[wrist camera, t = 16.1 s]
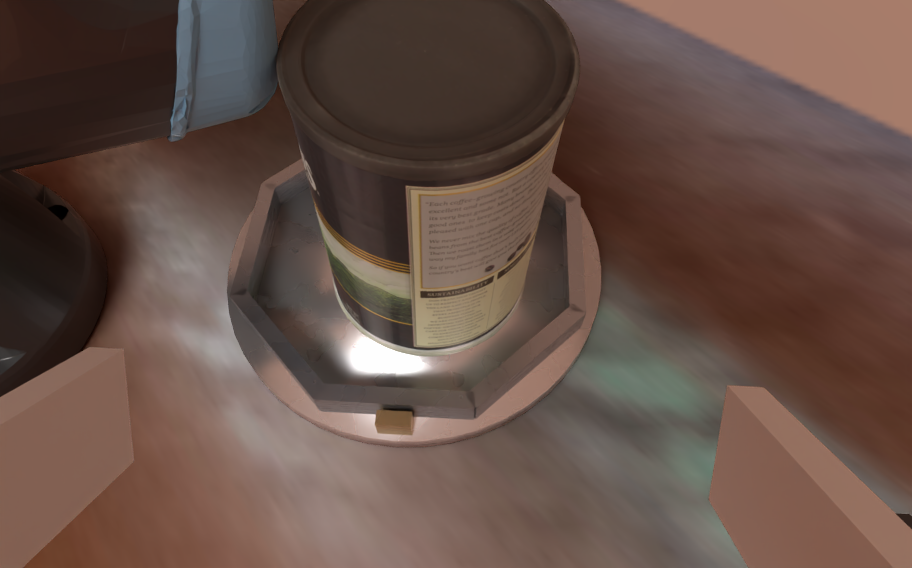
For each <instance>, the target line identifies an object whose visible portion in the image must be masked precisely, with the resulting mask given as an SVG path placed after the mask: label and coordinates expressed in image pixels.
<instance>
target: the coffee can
mask: <svg viewBox="0 0 912 568" xmlns="http://www.w3.org/2000/svg"><path fill="white" fill-rule="evenodd" d="M276 68H277V76H278V82H279V85H280V89H281V92H282V95H283V98H284V101H285V103H286V106H287V108H288V110H289V112H290V114H291V118H292V121H293V125H294V129H295V133H296V137H297V140H298V144H299V148H300V151H301V156H302V160H303V164H304V168H305V171H306V175H307V179H308V183H309V186H310V190H311V194H312V197H313V201H314V205H315V209H316V213H317V217H318V220H319V224H320V228H321V232H322V235H323V239H324V243H325V247H326V251H327V255H328V259H329V263H330V267H331V271H332V275H333V284H334V289H335V293H336V296H337V299H338V302H339V304H340V306H341V308H342V310H343V312H344V313H345V315H346V316H347V318H348V320H349V321H350V322H351V323H352V324H353V325H354V326H355V327H356V328H357V329H358V330H359V331H360V332H361V333H363V334H364V335H365V336H366V337H368V338H369V339H371V340H373V341H374V342H376V343H378V344H380V345H382V346H384V347H386V348H388V349H391V350H394V351H397V352H401V353H405V354H410V355H415V356H442V355H448V354H453V353H458V352H461V351H464V350H467V349H470V348H472V347H474V346H476V345H478V344H480V343H482V342H484V341H486V340H488V339H489V338H491V337H492V336H494V335H495V334H496V333H497V332H498V331H499V330H500V329H501V328H502V327H503V326H504V325H505V324H506V323H507V322H508V321H509V319H510V318H511V317H512V315H513V314H514V312H515V310H516V309H517V307H518V305H519V302H520V300H521V297H522V294H523V291H524V286H525V280H526V272H527V268H528V264H529V260H530V256H531V252H532V248H533V244H534V240H535V236H536V232H537V228H538V224H539V220H540V216H541V212H542V208H543V204H544V199H545V195H546V192H547V188H548V184H549V180H550V176H551V172H552V168H553V164H554V160H555V156H556V152H557V148H558V144H559V140H560V136H561V132H562V128H563V124H564V120H565V117H566V116H567V114H568V112H569V109H570V107H571V104H572V102H573V99H574V96H575V92H576V89H577V86H578V81H579V74H580V60H579V53H578V49H577V46H576V43H575V40H574V37H573V35H572V33H571V32H570V30H569V28H568V26H567V25H566V23H565V22H564V20H563V19H562V18H561V16H560V15H559V14H558V13H557V12H556V11H555V10H554V9H553V8H552V7H551V6H550V5H549V4H548V3H547V2H546V1H544V0H308V1H307V2H306V3H305V4H304V5H303V6H302V7H301V8H300V9H299V10H298V11H297V12H296V14H295V15H294V16H293V17H292V19H291V20H290V22H289V24H288V25H287V27H286V29H285V31H284V33H283V36H282V38H281V41H280V43H279V48H278V53H277V57H276Z"/></svg>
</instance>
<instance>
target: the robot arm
mask: <svg viewBox="0 0 912 568" xmlns="http://www.w3.org/2000/svg"><path fill="white" fill-rule="evenodd" d="M277 53H278V42H277V33H276V24H275V16H274V8H273V1H272V0H0V568H23V567H24V566H25V565H26V564H27V563H28V562H29V561H30V560H31V559H32V558H33V557H34V556H35V555H36V554H37V553H38V552H39V551H40V550H41V549H42V548H44V547H45V546H46V545H47V544H48V543H49V542H50V541H51V540H52V539H53V538H54V537H55V536H56V535H57V534H58V533H59V532H60V531H61V530H62V529H63V528H65V527H66V526H67V525H68V524H69V523H70V522H71V521H72V520H73V519H74V518H75V517H76V516H77V515H78V514H79V513H80V512H81V511H82V510H83V509H84V508H85V507H87V506H88V505H89V504H90V503H91V502H92V501H93V500H94V499H95V498H96V497H97V496H98V495H99V494H100V493H101V492H102V491H103V490H104V489H105V488H106V487H108V486H109V485H110V484H111V483H112V482H113V481H114V480H115V479H116V478H117V477H118V476H119V475H120V474H121V473H122V472H123V471H124V470H125V469H126V468H127V467H129V466H130V465H131V464H132V463H133V462H134V457H133V446H132V435H131V424H130V413H129V403H128V392H127V381H126V370H125V359H124V349H115V348H98V347H89V348H87V349H85V350H83V351H82V352H80V353H78V352H79V351H80V350H81V348H82V347H83V345H84V344H85V342H86V341H87V339H88V337H89V336H90V334H91V332H92V330H93V328H94V326H95V324H96V322H97V320H98V318H99V315H100V312H101V309H102V306H103V303H104V299H105V294H106V289H107V263H106V258H105V254H104V251H103V248H102V246H101V243H100V241H99V240H98V238H97V236H96V235H95V233H94V232H93V231H92V229H91V228H90V227H89V226H88V225H87V223H86V222H85V221H84V220H83V219H82V217H81V216H80V215H79V214H78V213H77V212H76V210H75V209H74V208H73V207H72V206H71V205H70V204H69V203H68V202H67V201H66V200H64V199H63V198H62V197H61V196H59V195H58V194H57V193H55V192H54V191H52V190H50V189H49V188H47V187H45V186H43V185H42V184H40V183H38V182H36V181H34V180H32V179H30V178H29V177H27V176H25V175H23V174H21V173H19V172H17V171H16V170H15V169H19V168H24V167H28V166H33V165H38V164H42V163H47V162H51V161H56V160H60V159H65V158H69V157H74V156H79V155H83V154H88V153H92V152H97V151H101V150H106V149H110V148H115V147H119V146H124V145H129V144H133V143H138V142H142V141H147V140H151V139H156V138H160V137H165V136H167V138H168V140H169V141H171V142H174V141H178V140H181V139H183V137H184V136H185V135H186V133H187V132H191V131H195V130H198V129H202V128H206V127H210V126H214V125H218V124H221V123H225V122H229V121H233V120H237V119H240V118H244V117H247V116H250V115H252V114H254V113H256V112H258V111H259V110H261V109H262V108H263V107H264V106H265V105H266V104H267V103H268V102H269V100H270V99H271V97H272V96H273V95H274V93H275V90H276V87H277V84H278V76H277V68H276V57H277ZM709 501H710V503H711V505H712V506H713V508H714V510H715V511H716V513H717V515H718V517H719V518H720V520H721V522H722V523H723V525H724V527H725V528H726V530H727V532H728V534H729V535H730V537H731V539H732V540H733V542H734V544H735V546H736V547H737V549H738V551H739V552H740V554H741V556H742V558H743V559H744V561H745V563H746V564H747V566H748V568H912V516H911V515H909V514H896V513H894V512H893V511H892V510H891V509H890V508H889V507H888V506H887V505H886V504H885V503H884V502H883V501H882V500H881V499H880V498H879V497H877V496H876V495H875V494H874V493H873V492H872V491H871V490H870V489H869V488H868V487H867V486H866V485H865V484H864V483H863V482H862V481H861V480H860V479H859V478H858V477H857V476H856V475H855V474H854V473H852V472H851V471H850V470H849V469H848V468H847V467H846V466H845V465H844V464H843V463H842V462H841V461H840V460H839V459H838V458H837V457H836V456H835V455H834V454H833V453H832V452H831V451H830V450H828V449H827V448H826V447H825V446H824V445H823V444H822V443H821V442H820V441H819V440H818V439H817V438H816V437H815V436H814V435H813V434H812V433H811V432H810V431H809V430H808V429H807V428H806V427H805V426H803V425H802V424H801V423H800V422H799V421H798V420H797V419H796V418H795V417H794V416H793V415H792V414H791V413H790V412H789V411H788V410H787V409H786V408H785V407H784V406H783V405H782V404H781V403H780V402H778V401H777V400H776V399H775V398H774V397H773V396H772V395H771V394H770V393H769V392H768V391H767V390H766V389H765V388H764V387H749V386H732V385H727V390H726V396H725V402H724V408H723V414H722V420H721V427H720V433H719V439H718V445H717V451H716V458H715V464H714V470H713V476H712V482H711V488H710V495H709Z"/></svg>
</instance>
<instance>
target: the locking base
mask: <svg viewBox="0 0 912 568" xmlns="http://www.w3.org/2000/svg"><path fill="white" fill-rule="evenodd" d="M600 292H601V263H600V257H599V250H598V246H597V242H596V239H595V236H594V233H593V229H592V227H591V225H590V223H589V221H588V219H587V217H586V214H585V212H584V210H583V209H582V207H581V201H580V195H578V194H577V193H576V192H575V191H573V190H572V189H571V188H570V187H568V186H567V185H566V184H564V183H563V182H562V181H561V180H560V179H559V178H558V177H557V176H555V175H554V174H553V173H552V172H551V176H550V180H549V184H548V188H547V192H546V195H545V199H544V204H543V208H542V212H541V216H540V220H539V224H538V228H537V232H536V236H535V240H534V244H533V248H532V252H531V256H530V260H529V264H528V268H527V272H526V280H525V286H524V291H523V294H522V297H521V300H520V302H519V305H518V307H517V309H516V310H515V312H514V314H513V315H512V317H511V318H510V319H509V321H508V322H507V323H506V324H505V325H504V326H503V327H502V328H501V329H500V330H499V331H498V332H497V333H496V334H495V335H494V336H492V337H491V338H489V339H488V340H486V341H484V342H482V343H480V344H478V345H476V346H474V347H472V348H470V349H467V350H464V351H461V352H458V353H453V354H448V355H442V356H415V355H410V354H405V353H401V352H397V351H394V350H391V349H388V348H386V347H384V346H382V345H380V344H378V343H376V342H374V341H373V340H371V339H369V338H368V337H366V336H365V335H364V334H363V333H361V332H360V331H359V330H358V329H357V328H356V327H355V326H354V325H353V324H352V323H351V322H350V321H349V320H348V318H347V316H346V315H345V313H344V312H343V310H342V308H341V306H340V304H339V302H338V299H337V296H336V293H335V289H334V284H333V275H332V271H331V267H330V263H329V259H328V255H327V251H326V247H325V243H324V239H323V235H322V232H321V228H320V224H319V220H318V217H317V213H316V209H315V205H314V201H313V197H312V194H311V190H310V186H309V183H308V179H307V175H306V171H305V168H304V164H303V160H302V159H300V160H298V161H297V162H295V163H293V164H292V165H290V166H288V167H287V168H285V169H283V170H282V171H280V172H279V173H277V174H275V175H274V176H272V177H270V178H269V179H267V180H265V181H264V182H263V183H261V187H260V190H259V194H258V197H257V201H256V204H255V207H254V209H253V210H252V211H251V213H250V214H249V216H248V218H247V220H246V222H245V224H244V225H243V227H242V229H241V231H240V233H239V236H238V239H237V241H236V244H235V247H234V249H233V253H232V257H231V262H230V266H229V271H228V287H227V295H228V305H229V314H230V318H231V322H232V325H233V329H234V333H235V336H236V338H237V340H238V342H239V344H240V347H241V349H242V351H243V353H244V355H245V357H246V358H247V360H248V361H249V363H250V364H251V366H252V367H253V369H254V370H255V372H256V373H257V375H258V376H259V378H260V379H261V381H262V382H263V383H264V384H265V385H266V386H267V387H268V389H269V390H270V391H271V392H272V393H273V394H274V395H275V396H276V397H277V398H278V399H279V400H280V401H281V402H282V403H284V404H285V405H286V406H287V407H289V408H290V409H291V410H292V411H293V412H295V413H296V414H297V415H299V416H301V417H302V418H304V419H306V420H307V421H309V422H311V423H312V424H314V425H316V426H318V427H319V428H322V429H324V430H327V431H329V432H332V433H334V434H336V435H339V436H341V437H344V438H348V439H352V440H355V441H359V442H363V443H367V444H373V445H381V446H389V447H429V446H437V445H444V444H451V443H455V442H459V441H462V440H466V439H470V438H473V437H477V436H480V435H482V434H485V433H487V432H489V431H492V430H494V429H497V428H499V427H501V426H504V425H505V424H507V423H509V422H510V421H512V420H514V419H516V418H517V417H519V416H521V415H522V414H524V413H526V412H527V411H528V410H530V409H531V408H532V407H534V406H535V405H536V404H537V403H539V402H540V401H541V400H542V399H544V398H545V397H546V396H547V395H548V394H549V393H550V392H551V391H552V390H553V389H554V388H555V387H556V386H557V385H558V384H559V383H560V382H561V381H562V380H563V378H564V377H565V376H566V374H567V373H568V371H569V370H570V369H571V367H572V366H573V364H574V363H575V362H576V360H577V358H578V357H579V355H580V353H581V351H582V349H583V347H584V345H585V343H586V341H587V339H588V336H589V333H590V331H591V328H592V325H593V322H594V319H595V316H596V313H597V310H598V304H599V298H600Z"/></svg>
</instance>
